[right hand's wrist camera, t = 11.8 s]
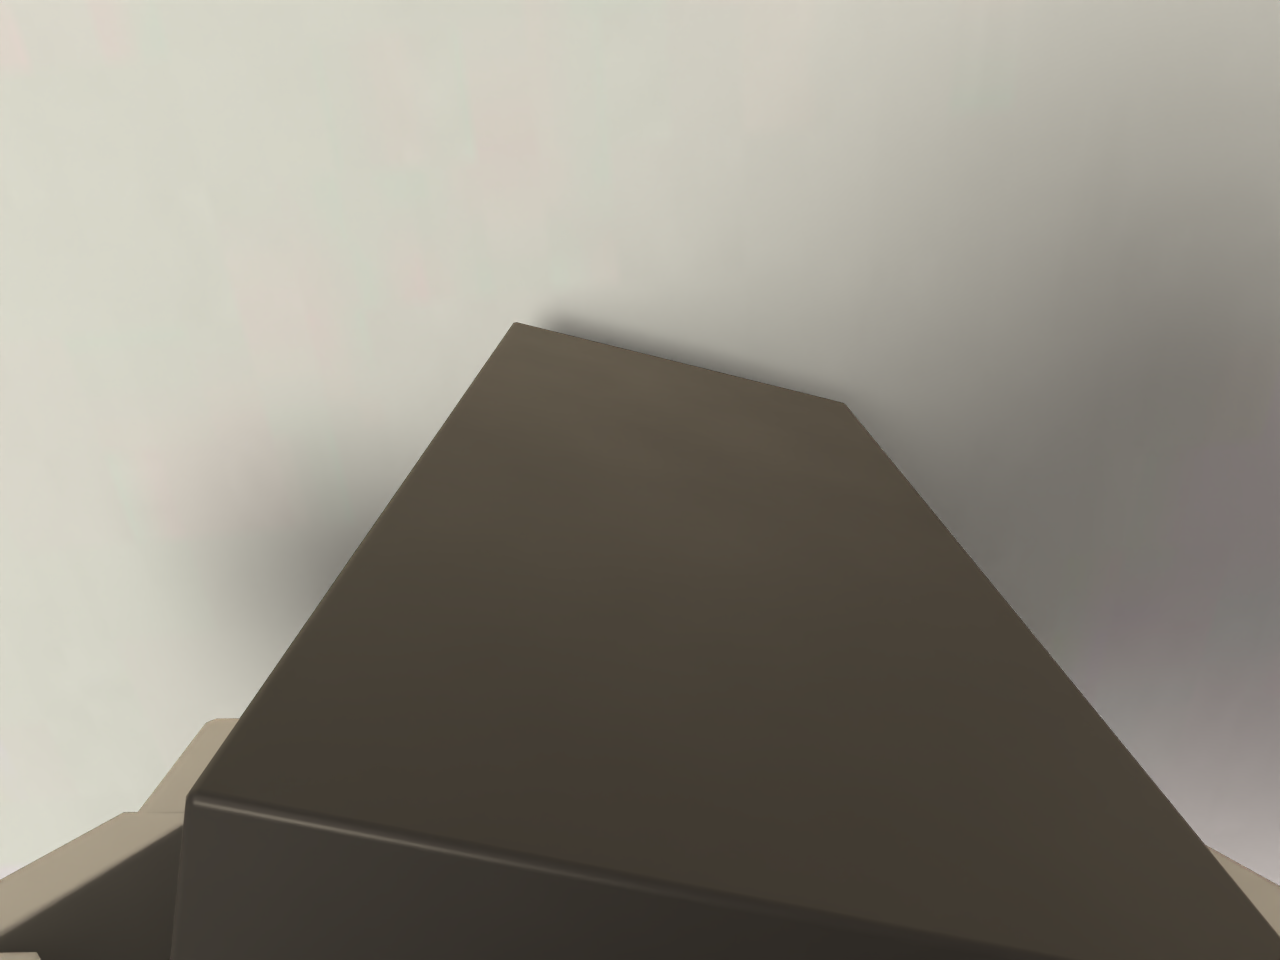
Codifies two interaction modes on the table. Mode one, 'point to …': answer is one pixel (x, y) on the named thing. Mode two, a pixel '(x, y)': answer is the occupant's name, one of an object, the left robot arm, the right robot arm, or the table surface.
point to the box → (678, 714)
